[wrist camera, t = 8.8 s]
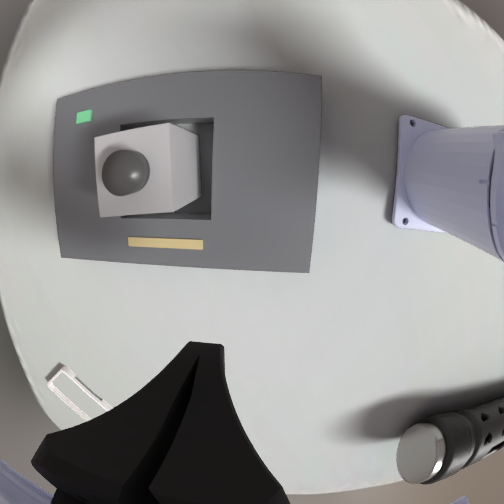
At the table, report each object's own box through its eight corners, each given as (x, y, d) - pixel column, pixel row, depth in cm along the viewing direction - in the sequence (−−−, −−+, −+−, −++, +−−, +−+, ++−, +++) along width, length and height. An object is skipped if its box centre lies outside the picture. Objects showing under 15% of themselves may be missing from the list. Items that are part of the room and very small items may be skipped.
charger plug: (199, 135, 16) (161, 119, 9) (201, 196, 17) (166, 216, 11) (142, 143, 16) (82, 136, 10) (145, 200, 17) (89, 221, 11)
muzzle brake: (491, 414, 27) (512, 448, 17) (384, 442, 26) (402, 500, 17) (519, 376, 24) (546, 409, 14) (420, 397, 23) (452, 462, 14)
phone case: (50, 379, 25) (131, 445, 29) (45, 385, 24) (129, 452, 27) (67, 361, 24) (160, 437, 27) (61, 368, 22) (157, 445, 26)
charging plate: (315, 85, 15) (322, 75, 13) (304, 261, 18) (309, 274, 16) (72, 102, 15) (55, 98, 13) (75, 249, 19) (59, 258, 17)
